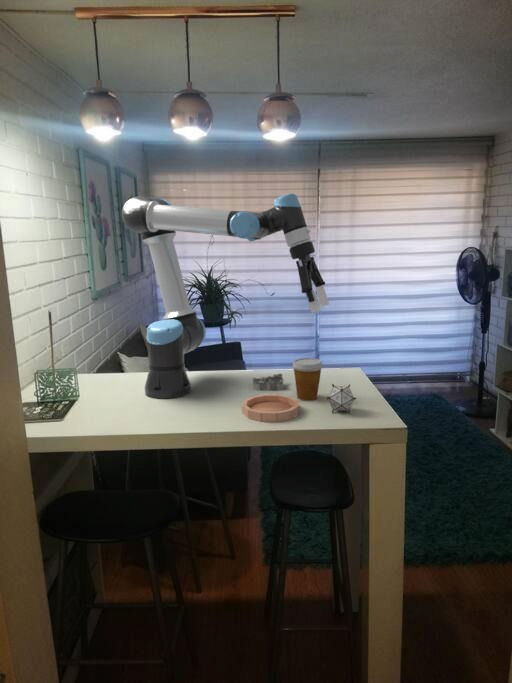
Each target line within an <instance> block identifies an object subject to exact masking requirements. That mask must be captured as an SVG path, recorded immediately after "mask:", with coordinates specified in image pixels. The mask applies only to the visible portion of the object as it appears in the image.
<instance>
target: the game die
mask: <svg viewBox="0 0 512 683" xmlns="http://www.w3.org/2000/svg"><path fill="white" fill-rule="evenodd" d="M331 386H332V389H331V391H330V393H329V396H326V398H325V399H326V400H328V402H329V403H330V405H331V408H332V411H331V413H334V412H335V411H343V412H348V413H349V414H351V410H350V409H351V407H352V404H353V402H354V401H355V400H357V398H356V397H354V395H353V393H352V391H351V384H348V385H346V386H344V385H343V386H342V385H339V386H338V385H334V383H331Z"/></svg>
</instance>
